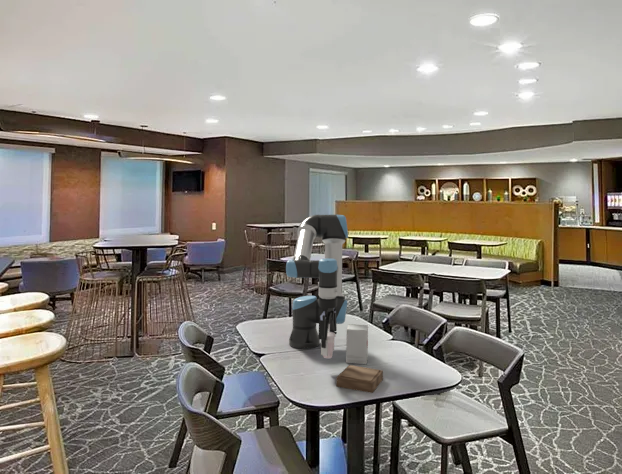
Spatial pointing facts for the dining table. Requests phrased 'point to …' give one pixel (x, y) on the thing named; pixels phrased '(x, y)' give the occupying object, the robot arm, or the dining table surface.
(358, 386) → the walnut tray
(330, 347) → the smoothie
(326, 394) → the dining table surface
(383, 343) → the dining table surface
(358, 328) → the supplement box
